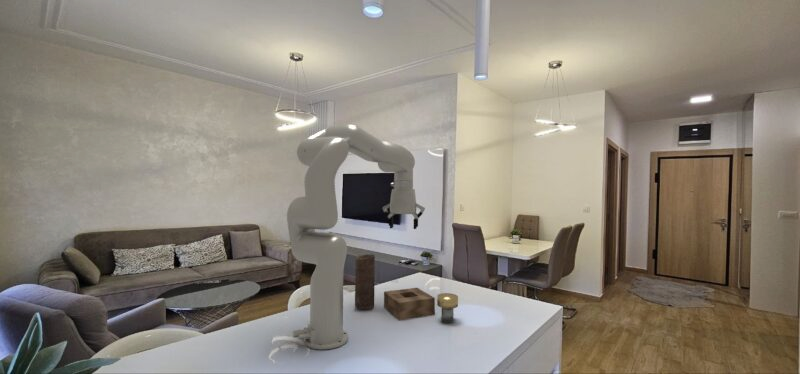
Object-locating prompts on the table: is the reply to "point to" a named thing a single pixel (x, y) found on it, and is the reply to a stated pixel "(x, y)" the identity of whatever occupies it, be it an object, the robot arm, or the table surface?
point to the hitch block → (409, 303)
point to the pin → (447, 306)
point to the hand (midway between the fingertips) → (403, 228)
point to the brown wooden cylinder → (364, 281)
